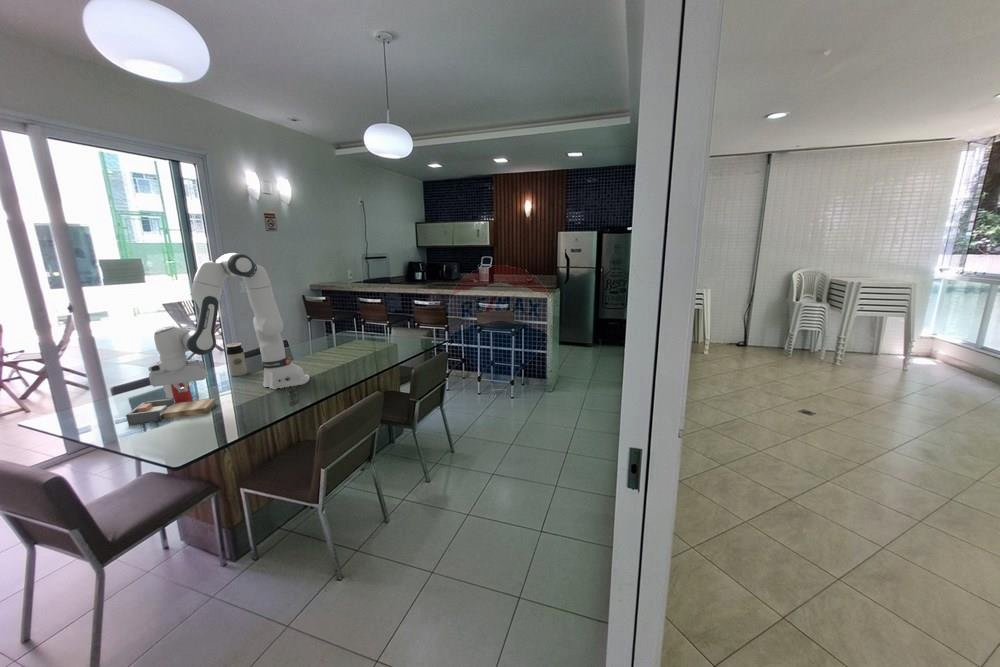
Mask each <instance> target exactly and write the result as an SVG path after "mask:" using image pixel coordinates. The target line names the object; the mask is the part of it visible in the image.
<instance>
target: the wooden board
mask: <svg viewBox="0 0 1000 667" xmlns="http://www.w3.org/2000/svg"><path fill="white" fill-rule="evenodd" d="M216 404H217V402H216V399H215V398H208V399H200V400H199V399H198V400H193V401H190V402H182V403H175V402H174V404H173V405H172V406H171V407H169V408H168V409H167V410H166V411H165V412H164V413H162V414H163V417H164V419H163V420H170V419H179V418H185V417H186V418H187V417H194V416H195V417H196V416H201V415H202V416H203V415H207V414H209V413H210V411H211V410H212V409H213V408H214V407H215V405H216Z"/></svg>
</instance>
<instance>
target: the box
mask: <svg viewBox="0 0 1000 667" xmlns="http://www.w3.org/2000/svg"><path fill="white" fill-rule="evenodd" d="M148 403H152V406H153V407H157V406H165V405H166V406H167V408H166V409H165V410H164V411H163V412H161V413H160V411H159V410H155V411H147V412H140V413H138V409H137V408H139V407H140V406H141V405H143V404H148ZM174 403H175V401H174V399H173V398H172V399H169V398H165V399H157V400H149V401H143V402H141V403H140V404H139V405H137V406H136V407H135V408H133V409H132V410H130V411H129V412H128V413H126V414H125V417H126V422H127V425H128V426H129V427H130V426H138V425H144V424H153V423H159V422H162V421H163V420H164V417H163V414H162V413H164V412H165V411H166V410H167V409H168V408H169V407H171V406H172V405H173V404H174Z"/></svg>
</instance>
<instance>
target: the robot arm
mask: <svg viewBox="0 0 1000 667" xmlns="http://www.w3.org/2000/svg"><path fill="white" fill-rule="evenodd" d="M228 277H234V278H235V277H240V278H242V280H243V282H244V286H245V290H246V293H247V296H248V297H247V298H248V301H249V304H250V307H251V309H252V312H253V315H254V317H253V320H252V322H253V329H254V331H255V335H256V338H257V342H258V345H259V351H260V356H261V368H262V371H263V383H262V386H264V387H263V388H265V387H269V388H268V389H271V388H272V389H271V390H278V389H277V388H280V389H285V388H290V386H291V387H296V386H300V385H302V386H303V385H305V384H306V383H308V382H309V381H310V378H311V377H310V375H309V374H306V373H305V372H304V369H303V368H302V367H301V366H299V365H297V364H295V363H292V361H291V357H288V356H286V352H285V345H284V341H283V338H282V336H281V333H282V332H283V329H284V323H283V322H284V321H283V320H282V317H281V313H280V311H279V308H278V305H277V302H276V300H275V295H274V291H273V287H272V283H271V280H270V277H269V274H268V272H267V270H266V269H265V267H264V266H262V265H259V264H256V263H255V262H254V261H253V260H252V258H251V257H250V256H248V255H246V254H244V253H236V252H230V253H224V254H221V255H219V256H218V257H217V258H215V260H213V261H211V260H209V261H203V262H201V263H200V265H199V266H198V269H197V270H196V272H195V275H194V277H193V282H192V283H191V284H192V286H191V291H190V292H191V298H192V300H194V302H195V303H196V305H197V306H198V310H199V314H198V319H197V325H196V329H194V328H193V329H192V328H191V329H190V328H189V329H188V328H187V329H186V328H182V327H181V328H180V327H179V326H174V325H169V326H164V327H162V328H159V329H157V330H156V331H155V332H154V334H153V337H154V338H153V339H154V344H155V348H156V351H157V352H158V354H159V361H158V362H155V363H153V364H152V365H150V366H149V367H148V371H149V373H148V378H149V383H150V385H151V386H152V387H153V388H156V387H157V388H158V387H162V386H163V385H170V384H173V386H174V387H175V388H177V389H178V391H179V392H186V391H188V388H187V386H188V384H190V382H191V381H193V382H198V381H202V380H205V379H206V378H207V377H208V373H207V370H206V367H205V362H203V361H202V360H199V359H198V360H197V359H196V360H188V358H187V354H186V353H187V352H191V353H193V354H195V355H198V356H204V355H207V354H210V353H212V352H213V351H214V349H215V348H216V345H217V339H216V334H215V330H216V325H217V318H218V313H219V312H218V311H219V304H220V300H221V296H222V292H223V288H224V282H225V281H226V279H227V278H228ZM179 383H183V385H185V386H184V387H180V386H179ZM284 387H285V388H284Z"/></svg>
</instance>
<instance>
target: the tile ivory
mask: <svg viewBox="0 0 1000 667" xmlns="http://www.w3.org/2000/svg"><path fill="white" fill-rule="evenodd" d="M166 408H167V406H166V405H165V406H157V407H152V408H151V409H150V410H149V411H155V410H159V411H160V413H161V412H163V411H164V410H165V409H166Z"/></svg>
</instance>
